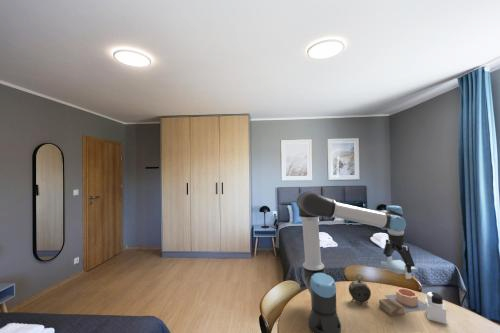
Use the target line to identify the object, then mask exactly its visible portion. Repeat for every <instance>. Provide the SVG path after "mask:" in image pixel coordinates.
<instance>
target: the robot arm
mask: <svg viewBox="0 0 500 333" xmlns="http://www.w3.org/2000/svg"><path fill="white" fill-rule="evenodd" d="M295 201H296V202H295V204H296V206H297V210H298V216H299V218H300V219H301V220H302V221H301V224H302V236H303V249H304V252H303V253H304V262H303V263H302V269H301V278H302V281H303V283H304V285H305V286H306V288H307V291H308V292H309V293H310V302H311V303H310V304H311V310H310V313H309V316H308V320H307V321H308V322H307V323H308V328H309V330H310V331H311V332H312V333H313V332H314V333H342V324H341V320H340V318H339V315H338V312H337V311H338V310H337V285H336V281H335V279H334V278H333V277H332V276H331V275H329V274H327V273H326V270H325V269H326V268H325V264H324V263H323V262H322V256H321V255H322V254H321V243H320V241H321V240H320V231H319V230H320V228H319V218H320V217H322V218H327V219H333V218H337V219H342V220H346V221H351V222H355V223H360V224H363V225H368V226H374V227H378V228H383V229H387V233H388V234H387V235H388V236H387V238H388V239H385V245H384V248H383V255H385V257H386V261H393V256H392V255H393V253H394V252H397V253H398V254H399V255H400V257H401V259H402V261H403V262H404V263H405V265H406V266H405V273H404V276H405V279H406V280H409V279H412V273H411V267H415V266H416V265H415V262H414V259H413V257H412V254H411V252H410V246H408V245H404V243H405V241H406V239H405V235H404V234H405V229H406V227H407V222H406V220H405V218H404V212H403V208H402V206H400V205H386V206H385V209H381V210H380V209H377V210H376V209H375V210H374V209H370V208H369V209H368V208H365V207H359V206H356V205H351V204H346V203H341V202H338V201H336V200H335V199H332V198H330V197H326V196H324V195H321V194H319V193H316V192H312V191H302V192H300V193H299V194H298V195H297V197H296V200H295Z"/></svg>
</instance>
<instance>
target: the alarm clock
mask: <svg viewBox="0 0 500 333" xmlns="http://www.w3.org/2000/svg"><path fill="white" fill-rule="evenodd" d="M358 276H361V279H360V278H359V279H358ZM355 277H356V280H353V281H352V282H350V284H349V286H348V292H349V295H350V296H351V297H352V299H351V302H352V303H353V301H355V302H357V303H360V306H363V303H369V302H368V301H369V299H370V298H371V295H372V292H371V289H370V287H369V286H368V285H367V283H366V282H364V281H363V275H362V274H357V275H356V276H355Z"/></svg>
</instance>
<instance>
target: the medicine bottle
mask: <svg viewBox="0 0 500 333" xmlns="http://www.w3.org/2000/svg"><path fill="white" fill-rule="evenodd" d="M443 299H444V298H443V296H442V295H441V294H439V293H437V292H434V291H429V292H427V293H426V298H425V299H424V304H425V309H426V310H425V314H426V317H427V319H428V320H430V321H434V322H437V323H441V324H444V325H445V324H446V325H447V324H448V321H447V308H446V307H445V305H444V302H443Z"/></svg>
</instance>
